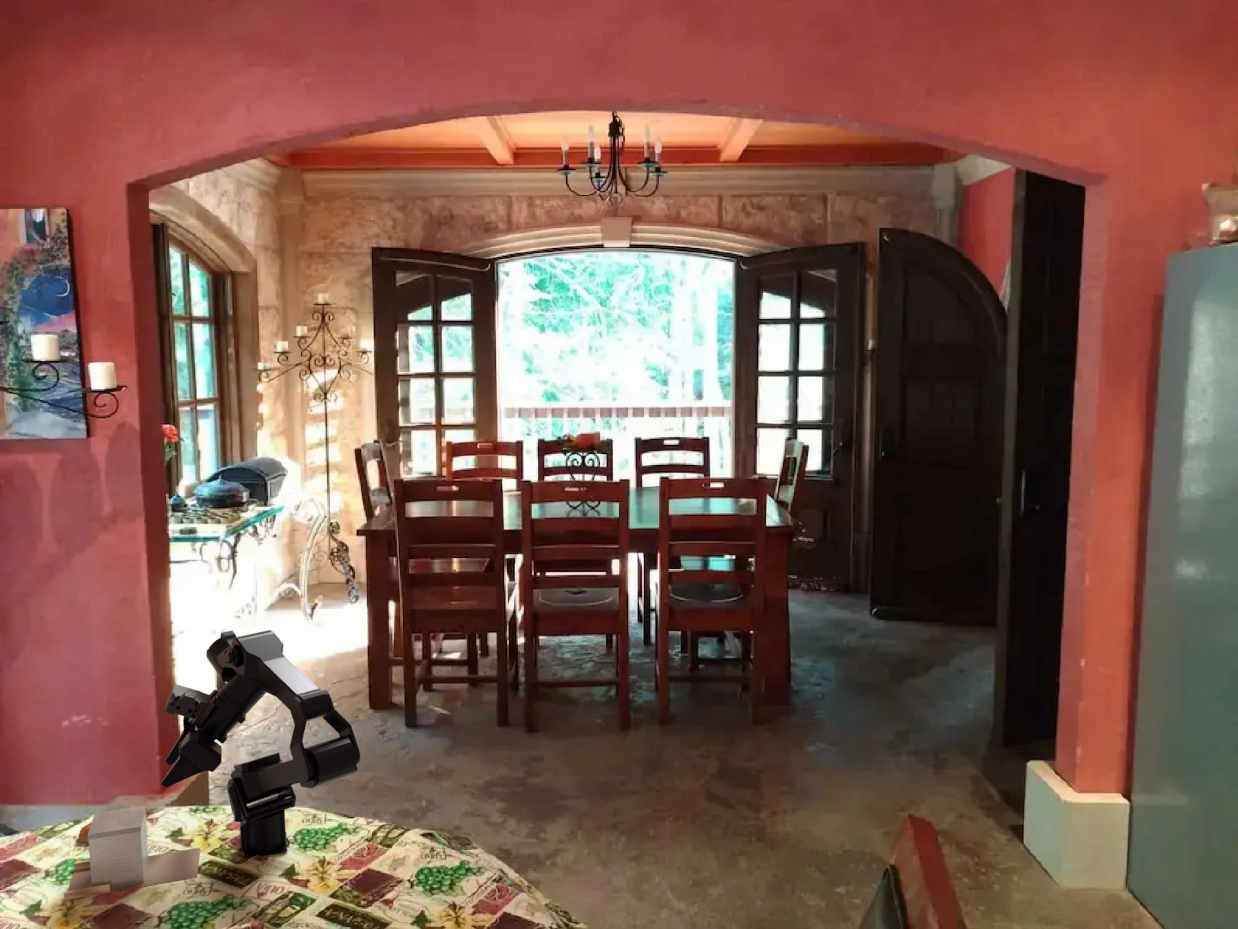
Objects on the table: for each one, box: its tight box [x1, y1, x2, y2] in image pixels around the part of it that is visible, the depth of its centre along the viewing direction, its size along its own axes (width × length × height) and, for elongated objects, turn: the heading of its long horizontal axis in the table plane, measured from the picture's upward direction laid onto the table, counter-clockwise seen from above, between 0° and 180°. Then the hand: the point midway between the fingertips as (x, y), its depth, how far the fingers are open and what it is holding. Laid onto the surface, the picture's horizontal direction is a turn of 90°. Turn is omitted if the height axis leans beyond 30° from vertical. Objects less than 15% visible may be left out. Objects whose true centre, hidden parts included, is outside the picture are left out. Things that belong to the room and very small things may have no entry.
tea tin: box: [88, 805, 149, 888], centre depth 151 cm, size 7×7×9 cm
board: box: [63, 847, 201, 901], centre depth 152 cm, size 18×9×1 cm, turn 110°
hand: (165, 774), depth 156 cm, fingers open, 8 cm apart
